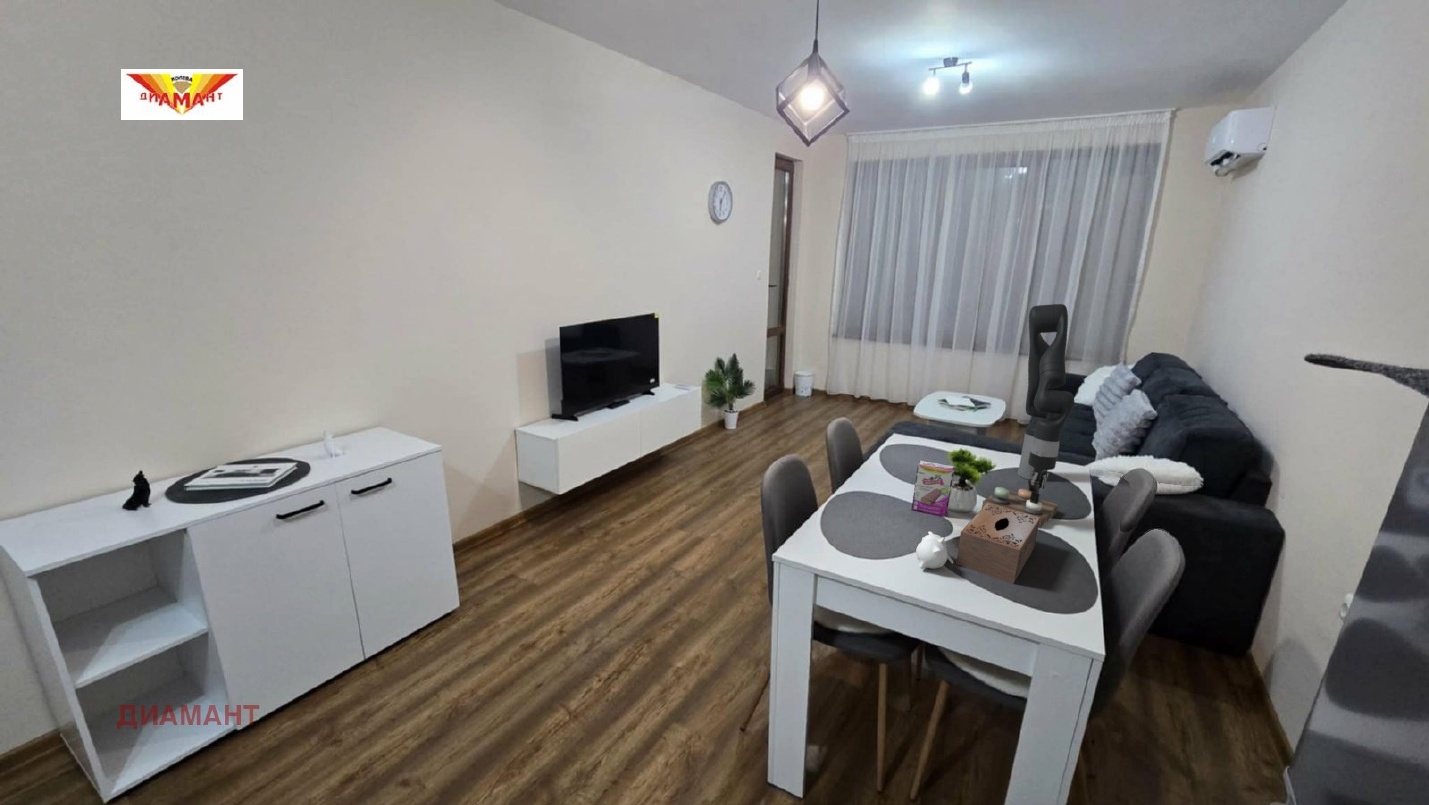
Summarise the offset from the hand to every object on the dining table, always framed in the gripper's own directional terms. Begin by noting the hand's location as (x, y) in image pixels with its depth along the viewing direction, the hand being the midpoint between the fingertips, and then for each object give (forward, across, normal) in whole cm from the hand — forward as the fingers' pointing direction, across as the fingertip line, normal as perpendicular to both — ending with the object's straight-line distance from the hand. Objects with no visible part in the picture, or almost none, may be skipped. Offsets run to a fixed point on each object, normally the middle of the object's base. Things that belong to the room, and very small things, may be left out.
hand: (1033, 502), depth 181 cm
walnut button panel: (+6, -4, -5) cm, 9 cm away
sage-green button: (+1, 0, -10) cm, 10 cm away
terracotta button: (+2, -8, -5) cm, 10 cm away
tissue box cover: (+7, +33, +1) cm, 33 cm away
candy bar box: (+6, +20, -25) cm, 32 cm away
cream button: (+2, 0, 0) cm, 2 cm away
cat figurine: (+7, +51, -9) cm, 52 cm away
